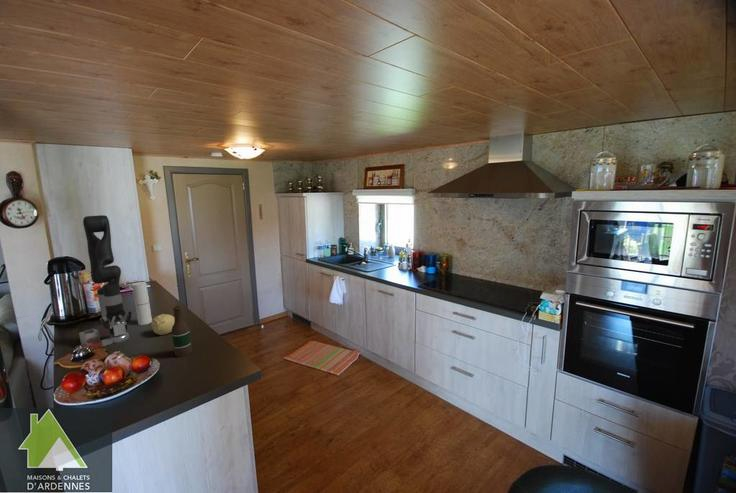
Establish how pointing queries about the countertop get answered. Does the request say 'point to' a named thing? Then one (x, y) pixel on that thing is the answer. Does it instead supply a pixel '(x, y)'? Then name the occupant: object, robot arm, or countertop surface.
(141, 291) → the cylindrical container
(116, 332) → the socket
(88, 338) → the socket
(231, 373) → the countertop surface
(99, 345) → the wine glass
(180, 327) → the beer bottle
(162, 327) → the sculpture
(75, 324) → the countertop surface
